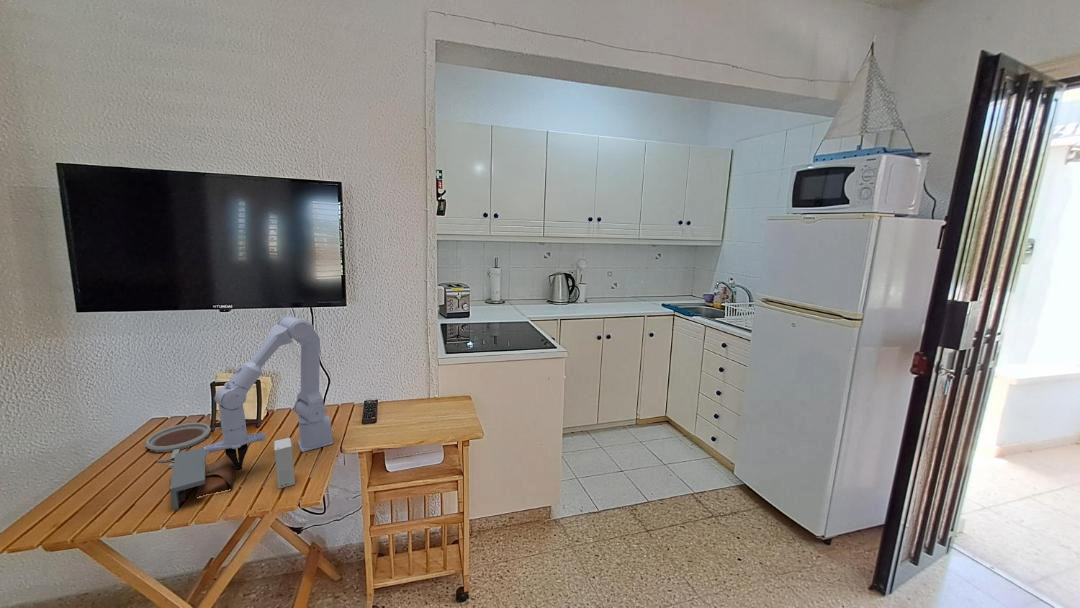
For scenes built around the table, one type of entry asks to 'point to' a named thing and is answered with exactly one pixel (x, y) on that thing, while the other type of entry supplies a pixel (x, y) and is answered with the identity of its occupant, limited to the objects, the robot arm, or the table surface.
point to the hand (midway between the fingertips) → (239, 468)
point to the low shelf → (187, 473)
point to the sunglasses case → (218, 477)
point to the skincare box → (284, 462)
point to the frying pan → (177, 439)
